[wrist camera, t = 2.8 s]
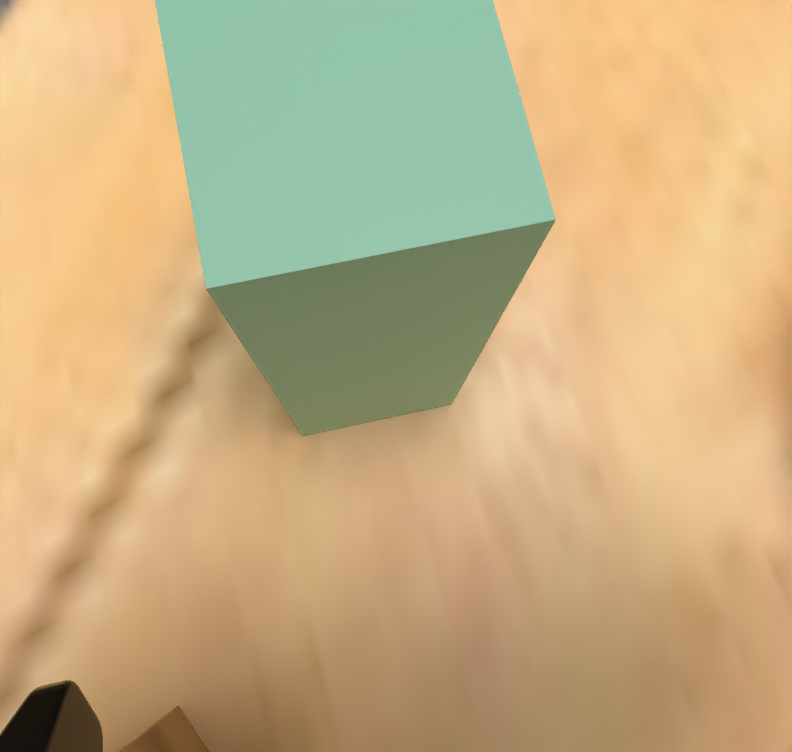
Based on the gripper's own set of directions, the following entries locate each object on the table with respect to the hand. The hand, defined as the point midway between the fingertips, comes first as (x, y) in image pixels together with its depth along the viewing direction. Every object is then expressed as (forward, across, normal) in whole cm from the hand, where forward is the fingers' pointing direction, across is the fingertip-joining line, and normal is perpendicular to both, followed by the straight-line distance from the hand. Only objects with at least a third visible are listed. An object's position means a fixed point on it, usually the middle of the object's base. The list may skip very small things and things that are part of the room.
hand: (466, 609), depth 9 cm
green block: (+14, 0, +4) cm, 14 cm away
